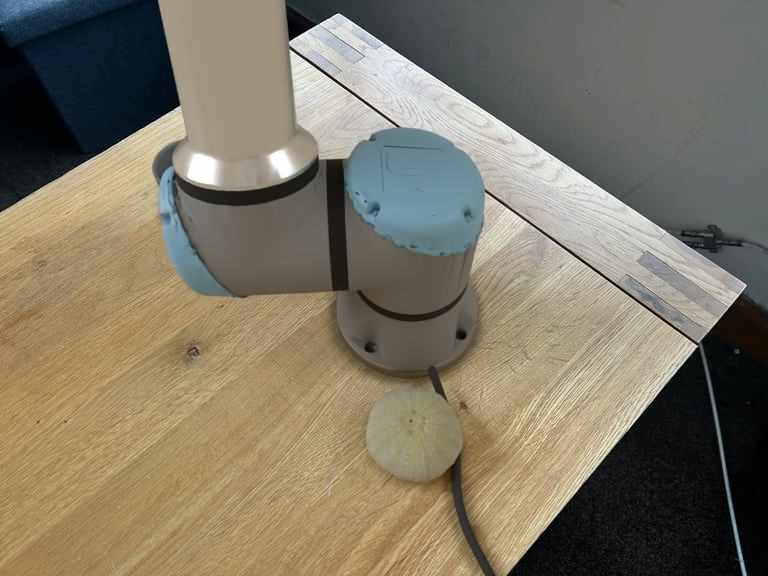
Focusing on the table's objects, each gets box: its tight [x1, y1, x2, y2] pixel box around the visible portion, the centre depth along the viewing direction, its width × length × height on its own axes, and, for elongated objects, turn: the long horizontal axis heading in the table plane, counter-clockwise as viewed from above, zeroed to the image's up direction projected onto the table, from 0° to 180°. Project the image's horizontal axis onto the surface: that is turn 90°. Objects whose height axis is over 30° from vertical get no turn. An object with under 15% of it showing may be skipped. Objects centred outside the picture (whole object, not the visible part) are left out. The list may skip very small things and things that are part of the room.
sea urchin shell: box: [365, 387, 464, 484], centre depth 63 cm, size 9×8×8 cm
